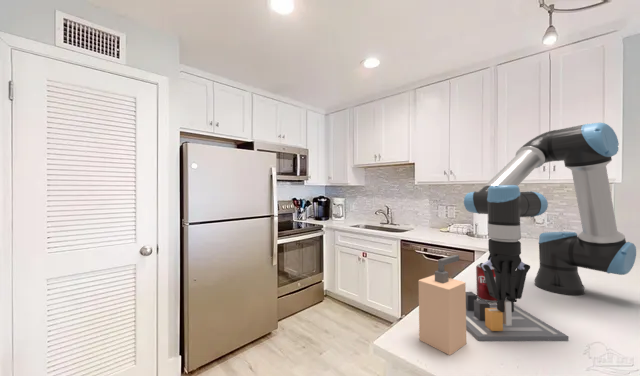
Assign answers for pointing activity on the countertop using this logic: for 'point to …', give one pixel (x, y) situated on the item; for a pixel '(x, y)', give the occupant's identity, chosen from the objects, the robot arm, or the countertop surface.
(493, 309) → the shipping carton with label
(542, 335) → the panel
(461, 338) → the soap dispenser
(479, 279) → the soda can
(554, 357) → the countertop surface
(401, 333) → the countertop surface
